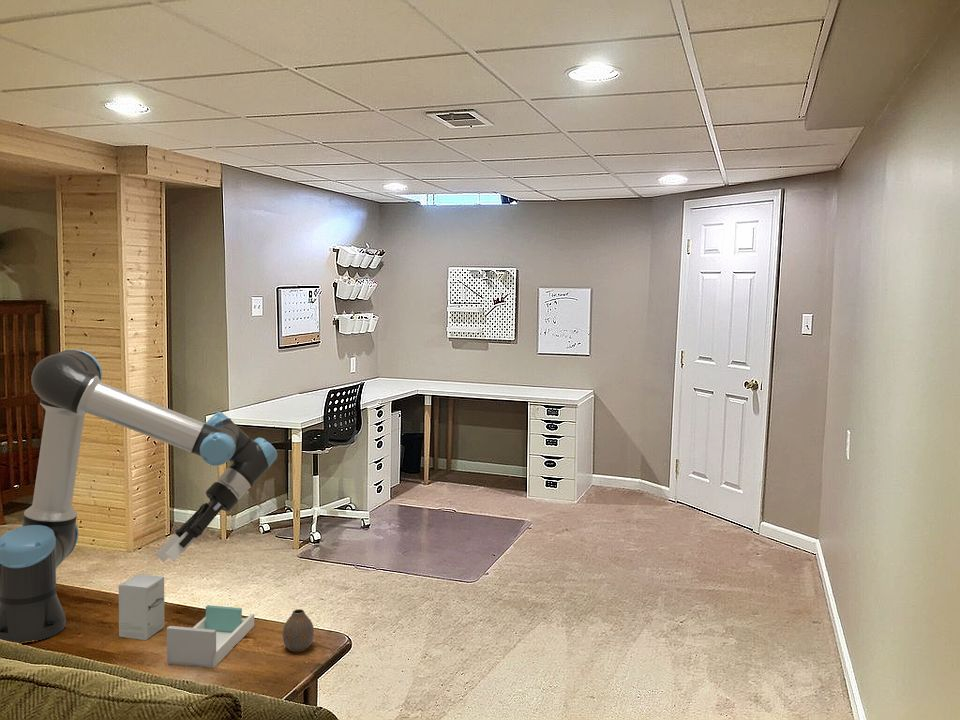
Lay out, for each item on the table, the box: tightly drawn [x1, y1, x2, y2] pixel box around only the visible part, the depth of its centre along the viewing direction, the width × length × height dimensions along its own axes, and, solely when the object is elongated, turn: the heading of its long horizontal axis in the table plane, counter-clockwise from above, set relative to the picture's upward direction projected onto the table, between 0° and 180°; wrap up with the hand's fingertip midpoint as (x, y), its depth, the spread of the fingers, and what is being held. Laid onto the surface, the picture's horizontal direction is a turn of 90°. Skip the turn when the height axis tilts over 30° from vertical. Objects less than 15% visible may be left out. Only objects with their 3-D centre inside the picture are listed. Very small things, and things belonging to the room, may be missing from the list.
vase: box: [282, 608, 315, 653], centre depth 179 cm, size 7×7×9 cm
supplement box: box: [118, 573, 165, 641], centre depth 184 cm, size 7×7×13 cm
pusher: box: [205, 604, 243, 632], centre depth 185 cm, size 1×8×6 cm, turn 83°
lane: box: [166, 613, 255, 669], centre depth 180 cm, size 21×11×8 cm, turn 173°
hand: (164, 558), depth 188 cm, fingers open, 13 cm apart
